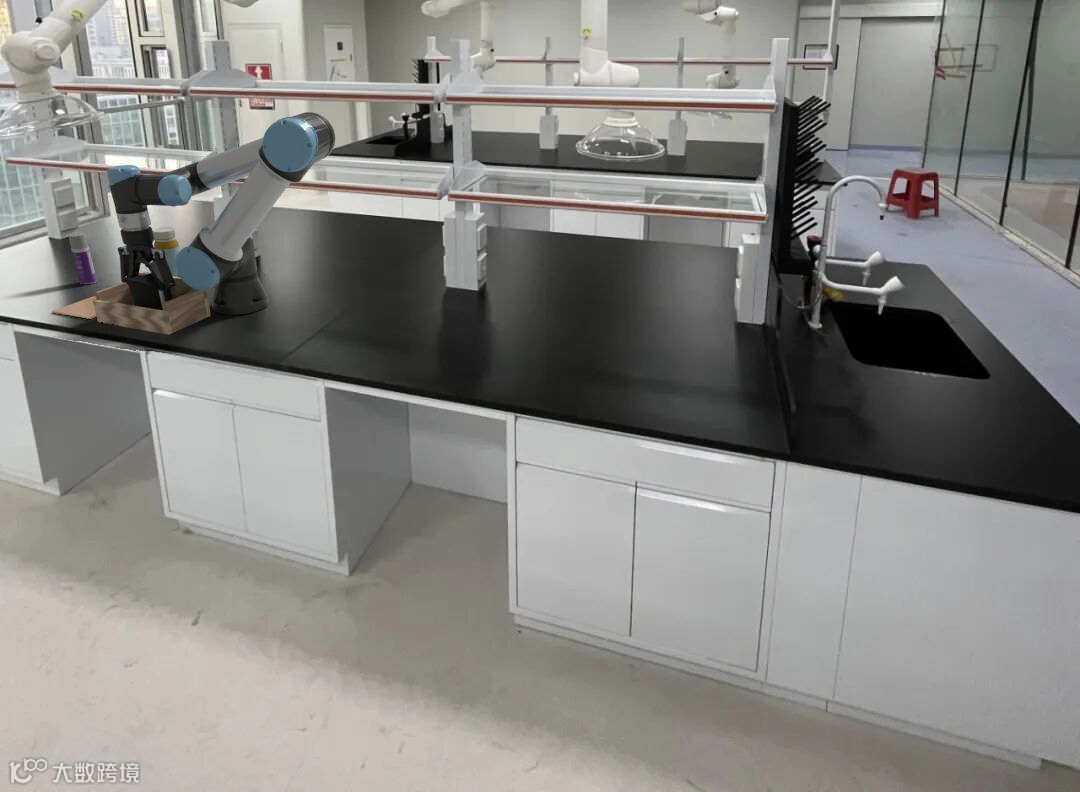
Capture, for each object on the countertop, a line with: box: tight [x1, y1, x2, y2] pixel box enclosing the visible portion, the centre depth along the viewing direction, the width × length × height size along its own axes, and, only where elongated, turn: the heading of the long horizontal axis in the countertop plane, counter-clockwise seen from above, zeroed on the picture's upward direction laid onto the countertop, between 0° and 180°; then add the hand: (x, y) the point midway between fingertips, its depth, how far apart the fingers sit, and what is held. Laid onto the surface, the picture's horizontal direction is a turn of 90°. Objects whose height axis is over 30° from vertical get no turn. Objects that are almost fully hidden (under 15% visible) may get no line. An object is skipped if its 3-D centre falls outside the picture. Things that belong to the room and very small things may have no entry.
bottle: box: [152, 226, 181, 277], centre depth 250 cm, size 7×7×15 cm
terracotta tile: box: [51, 295, 97, 320], centre depth 226 cm, size 14×14×1 cm
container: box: [68, 232, 98, 286], centre depth 244 cm, size 5×5×15 cm
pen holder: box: [127, 272, 165, 310], centre depth 216 cm, size 9×9×10 cm
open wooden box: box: [93, 270, 212, 335], centre depth 217 cm, size 24×15×10 cm, turn 69°
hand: (154, 309), depth 218 cm, fingers closed on pen holder, 9 cm apart
